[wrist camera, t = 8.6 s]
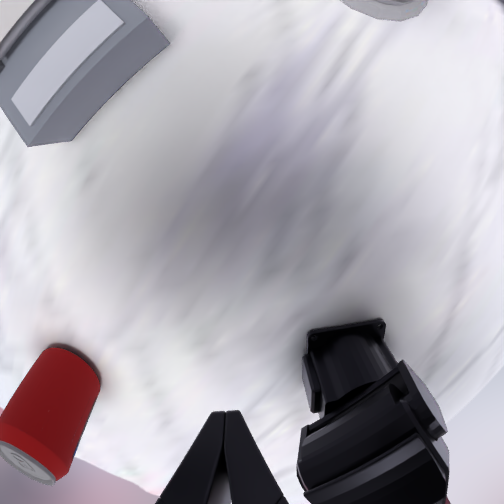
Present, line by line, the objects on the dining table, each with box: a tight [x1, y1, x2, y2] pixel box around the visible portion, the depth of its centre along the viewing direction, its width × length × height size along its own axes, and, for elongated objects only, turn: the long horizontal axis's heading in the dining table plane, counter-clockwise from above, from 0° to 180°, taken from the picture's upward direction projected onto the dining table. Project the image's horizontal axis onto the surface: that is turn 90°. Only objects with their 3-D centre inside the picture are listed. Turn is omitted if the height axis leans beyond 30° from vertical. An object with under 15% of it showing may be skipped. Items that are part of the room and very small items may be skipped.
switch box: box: [0, 0, 170, 147], centre depth 12 cm, size 8×9×6 cm
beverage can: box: [0, 348, 100, 486], centre depth 18 cm, size 7×7×12 cm
